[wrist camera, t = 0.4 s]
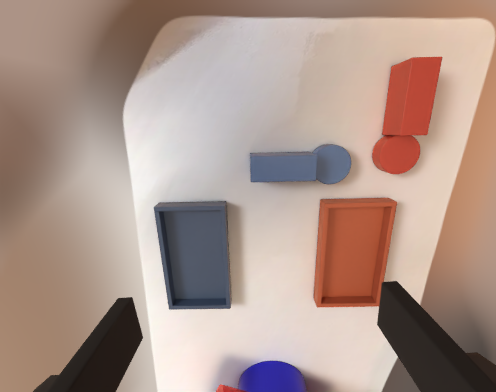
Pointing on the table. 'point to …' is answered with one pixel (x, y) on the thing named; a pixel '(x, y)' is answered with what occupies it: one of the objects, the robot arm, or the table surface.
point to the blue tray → (195, 254)
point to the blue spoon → (301, 165)
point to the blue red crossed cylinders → (269, 379)
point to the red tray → (352, 251)
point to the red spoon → (407, 113)
